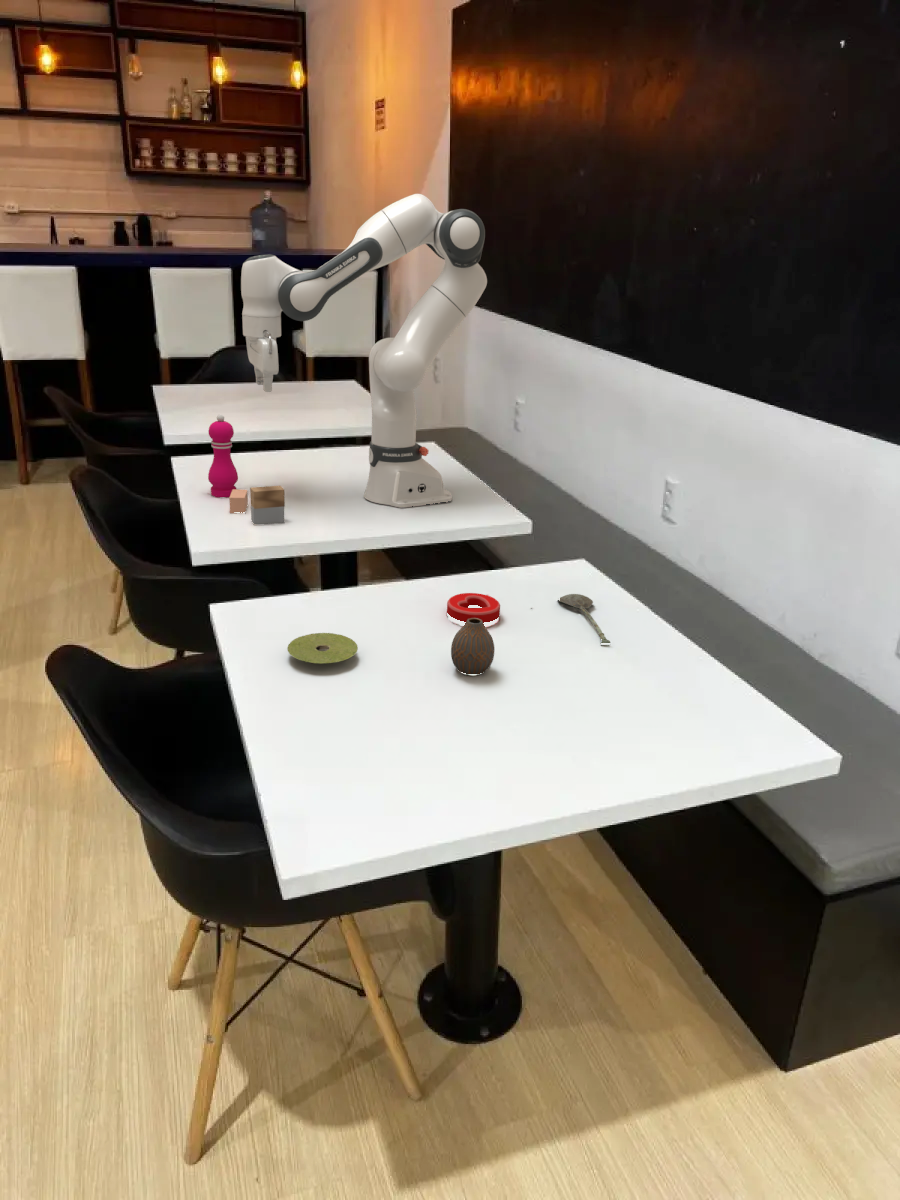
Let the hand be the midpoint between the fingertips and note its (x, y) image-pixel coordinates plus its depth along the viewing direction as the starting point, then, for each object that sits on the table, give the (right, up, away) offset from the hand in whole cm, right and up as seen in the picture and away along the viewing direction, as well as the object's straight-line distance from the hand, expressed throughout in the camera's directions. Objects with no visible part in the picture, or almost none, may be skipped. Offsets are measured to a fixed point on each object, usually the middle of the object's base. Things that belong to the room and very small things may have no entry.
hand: (263, 387), depth 220 cm
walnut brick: (+3, -29, -10) cm, 31 cm away
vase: (+48, -62, -73) cm, 107 cm away
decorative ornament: (+49, -54, -53) cm, 90 cm away
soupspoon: (+70, -55, -51) cm, 103 cm away
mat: (+24, -61, -71) cm, 97 cm away
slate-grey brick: (+3, -33, -8) cm, 34 cm away
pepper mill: (-12, -25, +10) cm, 29 cm away
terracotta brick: (-6, -29, 0) cm, 30 cm away
